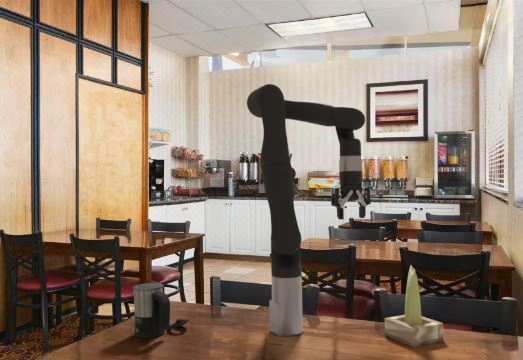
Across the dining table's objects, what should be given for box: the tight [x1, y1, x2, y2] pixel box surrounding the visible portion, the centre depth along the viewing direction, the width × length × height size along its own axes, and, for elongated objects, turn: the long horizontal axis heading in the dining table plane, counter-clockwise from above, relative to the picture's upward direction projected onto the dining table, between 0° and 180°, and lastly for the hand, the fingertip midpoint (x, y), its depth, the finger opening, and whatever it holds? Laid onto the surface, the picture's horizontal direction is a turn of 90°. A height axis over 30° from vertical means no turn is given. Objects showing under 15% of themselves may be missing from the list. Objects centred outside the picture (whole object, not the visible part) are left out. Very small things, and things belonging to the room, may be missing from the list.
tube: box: [404, 264, 422, 326], centre depth 144 cm, size 6×5×20 cm
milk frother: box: [132, 282, 191, 339], centre depth 154 cm, size 14×16×15 cm
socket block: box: [384, 314, 444, 348], centre depth 144 cm, size 11×12×5 cm
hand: (351, 218), depth 165 cm, fingers open, 8 cm apart
